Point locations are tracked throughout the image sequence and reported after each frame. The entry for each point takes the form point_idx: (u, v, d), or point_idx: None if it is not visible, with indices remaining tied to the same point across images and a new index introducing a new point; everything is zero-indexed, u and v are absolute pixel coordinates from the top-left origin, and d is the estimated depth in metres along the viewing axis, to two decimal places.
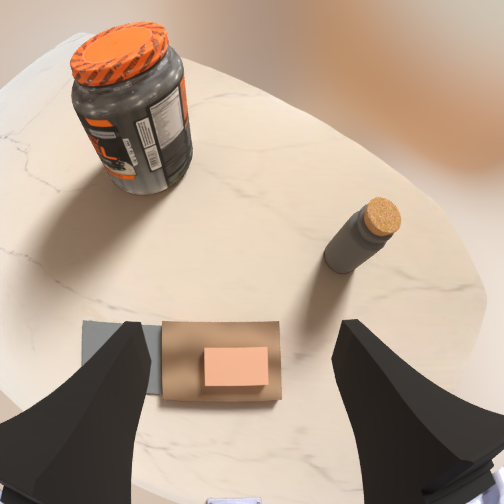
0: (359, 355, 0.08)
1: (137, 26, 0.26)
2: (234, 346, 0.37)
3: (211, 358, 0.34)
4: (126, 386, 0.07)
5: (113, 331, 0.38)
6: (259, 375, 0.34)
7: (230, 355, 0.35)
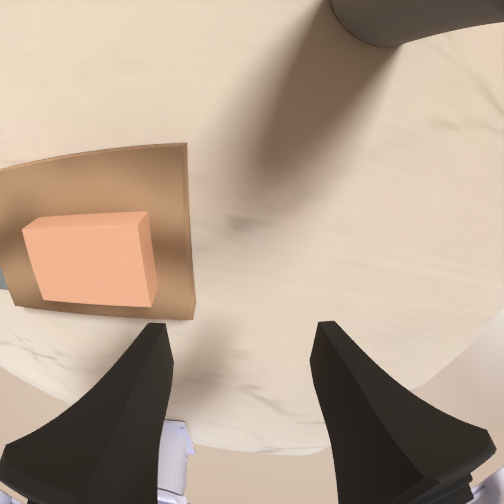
0: (332, 358, 0.08)
1: None
2: (84, 211, 0.15)
3: (36, 250, 0.13)
4: (153, 389, 0.08)
5: None
6: (128, 288, 0.15)
7: (64, 243, 0.13)
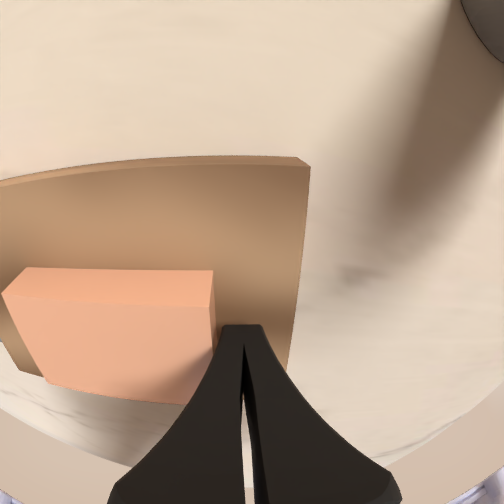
0: (245, 363, 0.08)
1: None
2: (123, 264, 0.09)
3: (28, 326, 0.08)
4: (241, 392, 0.08)
5: None
6: (185, 386, 0.09)
7: (72, 324, 0.08)
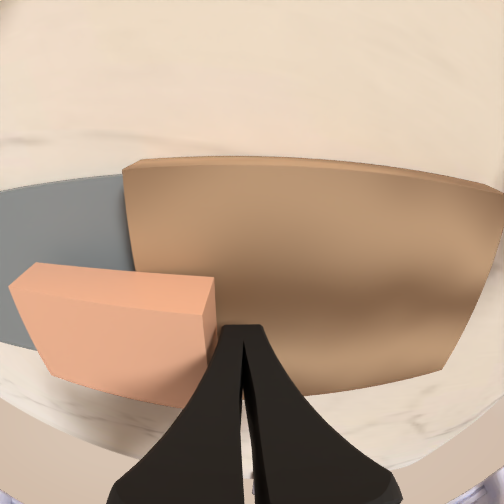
0: (246, 363, 0.08)
1: None
2: (403, 262, 0.10)
3: (33, 319, 0.08)
4: None
5: (0, 218, 0.10)
6: (180, 390, 0.09)
7: (72, 320, 0.08)
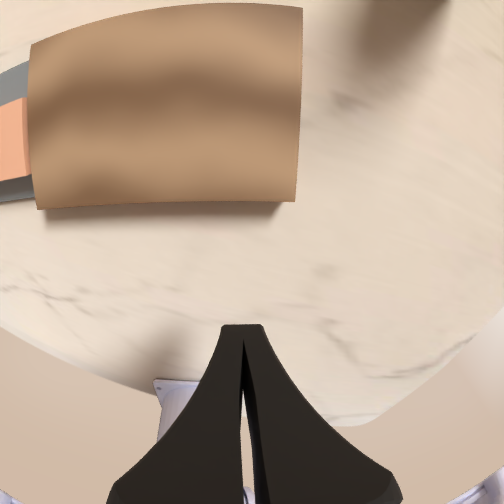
0: (246, 363, 0.08)
1: None
2: (179, 59, 0.12)
3: None
4: (240, 392, 0.08)
5: None
6: (12, 158, 0.12)
7: None
